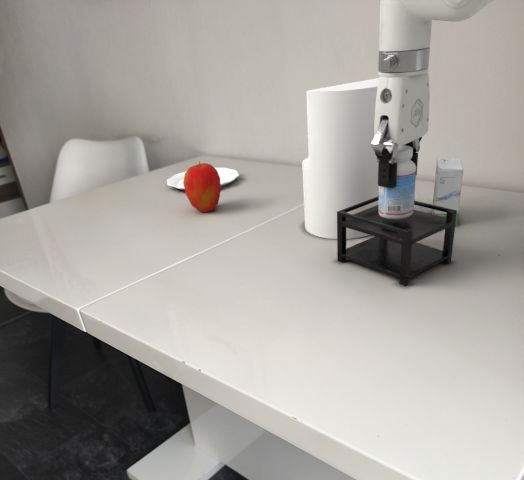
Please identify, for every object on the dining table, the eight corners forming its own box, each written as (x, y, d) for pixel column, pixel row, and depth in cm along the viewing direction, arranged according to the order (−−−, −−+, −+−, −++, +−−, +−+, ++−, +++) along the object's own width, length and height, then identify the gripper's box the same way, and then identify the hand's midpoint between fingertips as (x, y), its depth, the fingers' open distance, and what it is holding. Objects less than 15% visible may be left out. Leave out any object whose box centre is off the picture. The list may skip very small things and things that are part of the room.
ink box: (457, 225, 112) (464, 168, 106) (433, 225, 113) (438, 169, 107) (454, 212, 119) (460, 157, 113) (431, 212, 120) (436, 158, 114)
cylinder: (401, 225, 115) (409, 80, 100) (335, 245, 109) (333, 94, 94) (351, 206, 128) (352, 75, 113) (290, 223, 122) (282, 87, 107)
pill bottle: (420, 212, 95) (425, 146, 89) (400, 222, 92) (404, 154, 86) (391, 206, 99) (393, 142, 93) (371, 216, 95) (372, 150, 89)
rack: (451, 262, 98) (457, 210, 93) (404, 286, 91) (408, 231, 86) (383, 241, 109) (384, 193, 103) (337, 261, 102) (336, 211, 97)
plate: (155, 193, 151) (153, 187, 150) (186, 172, 168) (185, 167, 167) (223, 194, 145) (222, 188, 144) (249, 173, 161) (248, 167, 160)
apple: (197, 203, 140) (189, 156, 133) (229, 204, 137) (223, 156, 131) (182, 216, 133) (173, 166, 126) (215, 217, 130) (209, 166, 123)
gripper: (396, 71, 75) (390, 198, 85) (452, 55, 85) (441, 170, 95) (351, 71, 79) (350, 192, 89) (409, 56, 90) (403, 166, 99)
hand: (397, 180), depth 92 cm, fingers closed on pill bottle, 6 cm apart
